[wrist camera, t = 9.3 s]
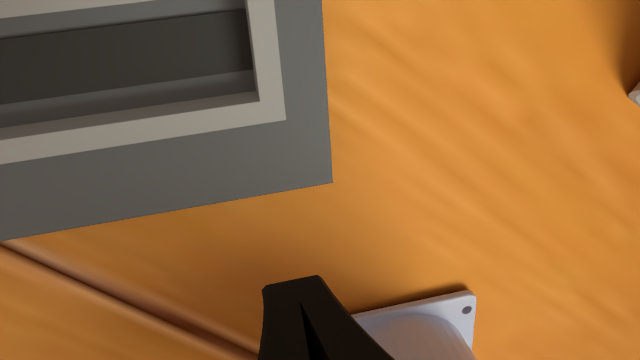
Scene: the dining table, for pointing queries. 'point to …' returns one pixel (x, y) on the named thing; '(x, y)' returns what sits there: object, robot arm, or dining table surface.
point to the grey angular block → (635, 94)
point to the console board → (156, 107)
